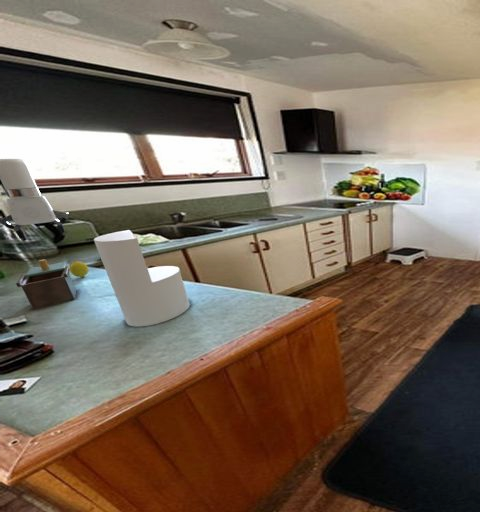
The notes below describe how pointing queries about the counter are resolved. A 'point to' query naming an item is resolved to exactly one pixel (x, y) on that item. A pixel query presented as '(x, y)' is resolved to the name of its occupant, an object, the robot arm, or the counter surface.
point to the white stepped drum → (141, 281)
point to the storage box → (48, 288)
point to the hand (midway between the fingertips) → (44, 237)
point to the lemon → (78, 269)
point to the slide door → (46, 268)
